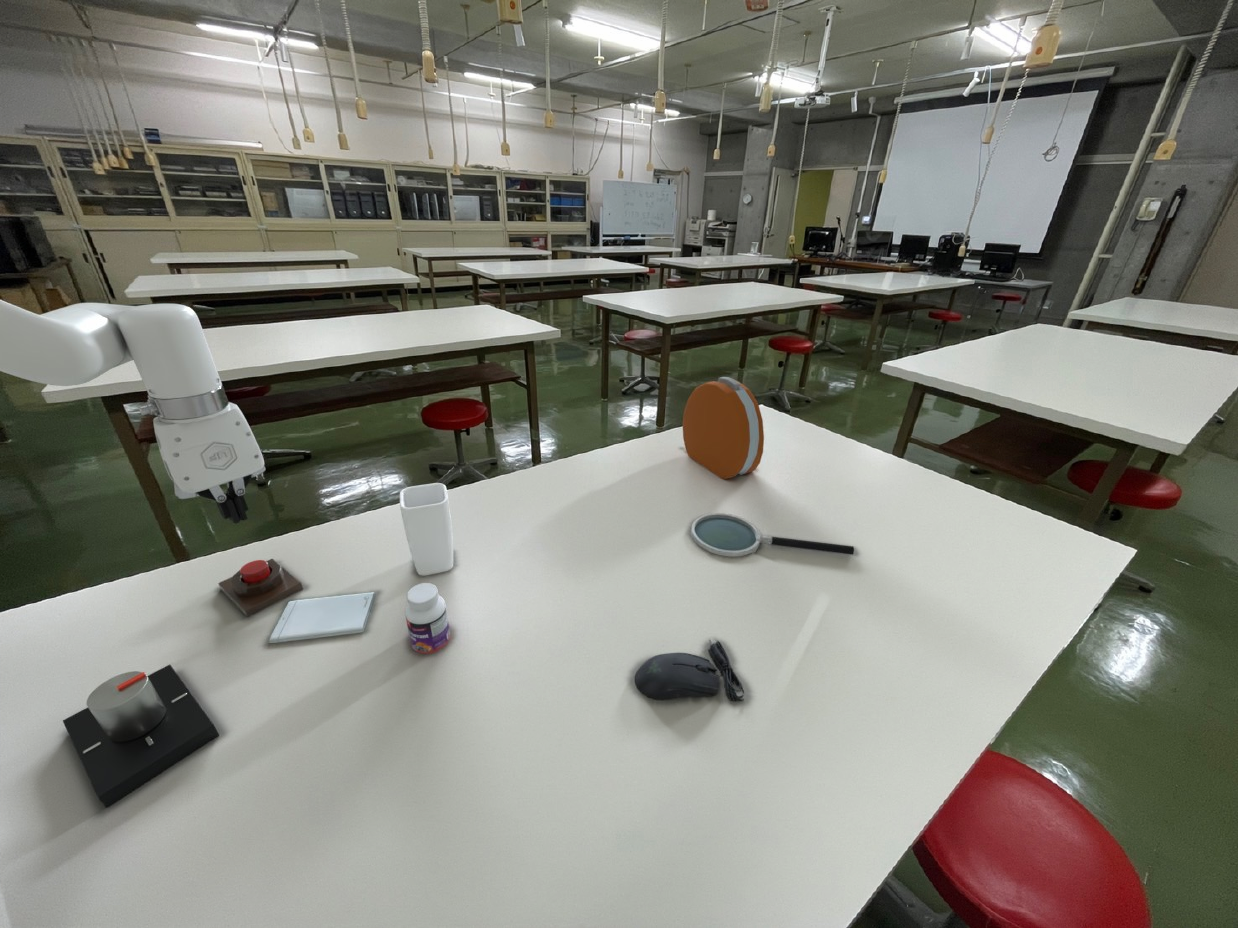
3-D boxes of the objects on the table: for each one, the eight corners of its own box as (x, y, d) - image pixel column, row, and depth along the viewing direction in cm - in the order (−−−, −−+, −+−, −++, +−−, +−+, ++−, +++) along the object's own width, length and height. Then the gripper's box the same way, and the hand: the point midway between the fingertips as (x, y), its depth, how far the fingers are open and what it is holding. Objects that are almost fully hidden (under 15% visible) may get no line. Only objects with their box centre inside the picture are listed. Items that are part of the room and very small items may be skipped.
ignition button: (239, 576, 79) (235, 568, 78) (264, 565, 81) (261, 556, 81) (249, 586, 77) (245, 577, 76) (274, 574, 80) (271, 565, 79)
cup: (459, 575, 86) (448, 502, 80) (414, 584, 84) (399, 510, 77) (454, 550, 92) (445, 481, 86) (412, 558, 90) (399, 487, 83)
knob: (117, 751, 54) (93, 716, 52) (102, 726, 57) (78, 692, 54) (173, 717, 58) (153, 683, 56) (156, 695, 61) (137, 662, 58)
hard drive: (374, 590, 80) (289, 599, 78) (362, 628, 73) (267, 639, 70) (376, 598, 81) (291, 607, 78) (364, 636, 74) (271, 647, 71)
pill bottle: (403, 648, 72) (392, 597, 68) (432, 624, 76) (423, 574, 72) (431, 663, 70) (421, 611, 65) (458, 637, 74) (451, 587, 70)
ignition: (222, 593, 80) (214, 574, 79) (276, 568, 86) (269, 549, 84) (249, 621, 75) (241, 601, 74) (304, 592, 81) (298, 573, 79)
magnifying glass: (860, 577, 90) (863, 568, 89) (689, 555, 94) (690, 546, 93) (843, 534, 102) (845, 526, 101) (691, 516, 106) (692, 508, 105)
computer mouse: (626, 657, 72) (627, 638, 70) (721, 645, 75) (725, 626, 73) (641, 720, 63) (643, 700, 62) (748, 704, 66) (753, 685, 64)
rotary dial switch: (74, 736, 59) (61, 719, 57) (178, 679, 66) (169, 663, 65) (110, 813, 52) (96, 796, 50) (222, 740, 59) (213, 723, 58)
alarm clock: (764, 477, 122) (781, 389, 112) (733, 486, 118) (749, 396, 107) (707, 443, 139) (717, 363, 129) (678, 449, 135) (687, 368, 124)
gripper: (127, 427, 58) (186, 552, 67) (267, 394, 69) (302, 505, 78) (108, 412, 62) (166, 532, 71) (243, 382, 73) (279, 490, 82)
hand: (237, 518), depth 74 cm, fingers closed
